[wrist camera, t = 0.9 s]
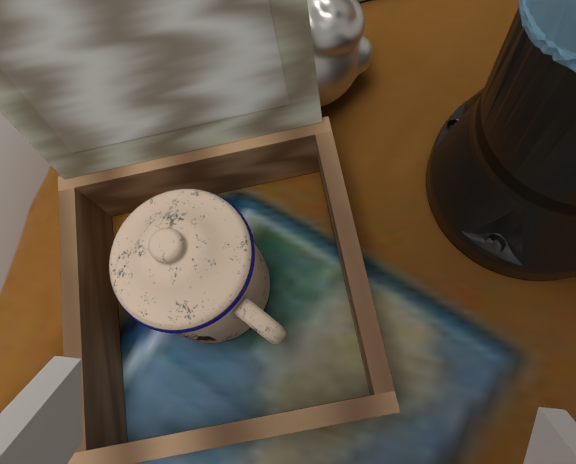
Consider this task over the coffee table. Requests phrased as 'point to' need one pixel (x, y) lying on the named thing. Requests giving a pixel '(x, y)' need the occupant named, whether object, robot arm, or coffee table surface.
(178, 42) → the open wooden keepsake box
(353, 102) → the coffee table surface
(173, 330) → the teacup with lid
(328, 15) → the silver metal rounded piece
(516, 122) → the robot arm
